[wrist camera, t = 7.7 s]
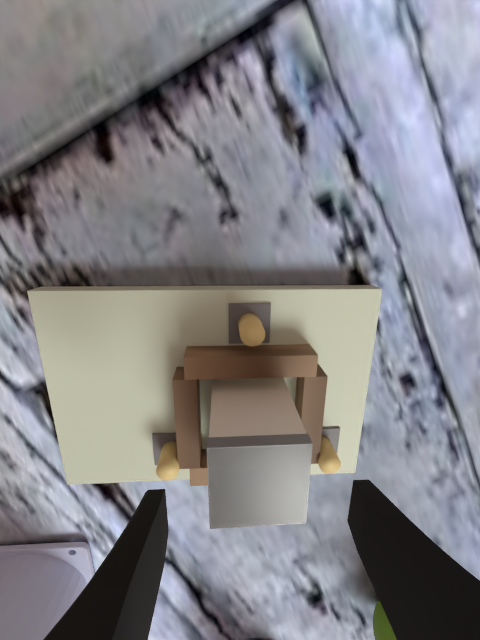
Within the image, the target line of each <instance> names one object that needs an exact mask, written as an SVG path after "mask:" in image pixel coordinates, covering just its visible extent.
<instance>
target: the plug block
mask: <svg viewBox="0 0 480 640" xmlns="http://www.w3.org/2000/svg"><path fill="white" fill-rule="evenodd" d="M312 446H313V443H312V441H311V439H310V436H309V434H307V433H306V431H305V428H304V426H303V424H302V421H301V419H300V416H299V414H298V412H297V409H296V407H295V404H294V402H293V399H292V397H291V395H290V392H289V390H288V387H287V385H286V383H285V380H284V378H244V379H213V381H212V396H211V411H210V427H209V437H207V469H208V494H209V519H210V529H215V528H233V527H251V526H269V525H287V524H305V523H306V515H307V504H308V492H309V481H310V469H311V458H312Z"/></svg>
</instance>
